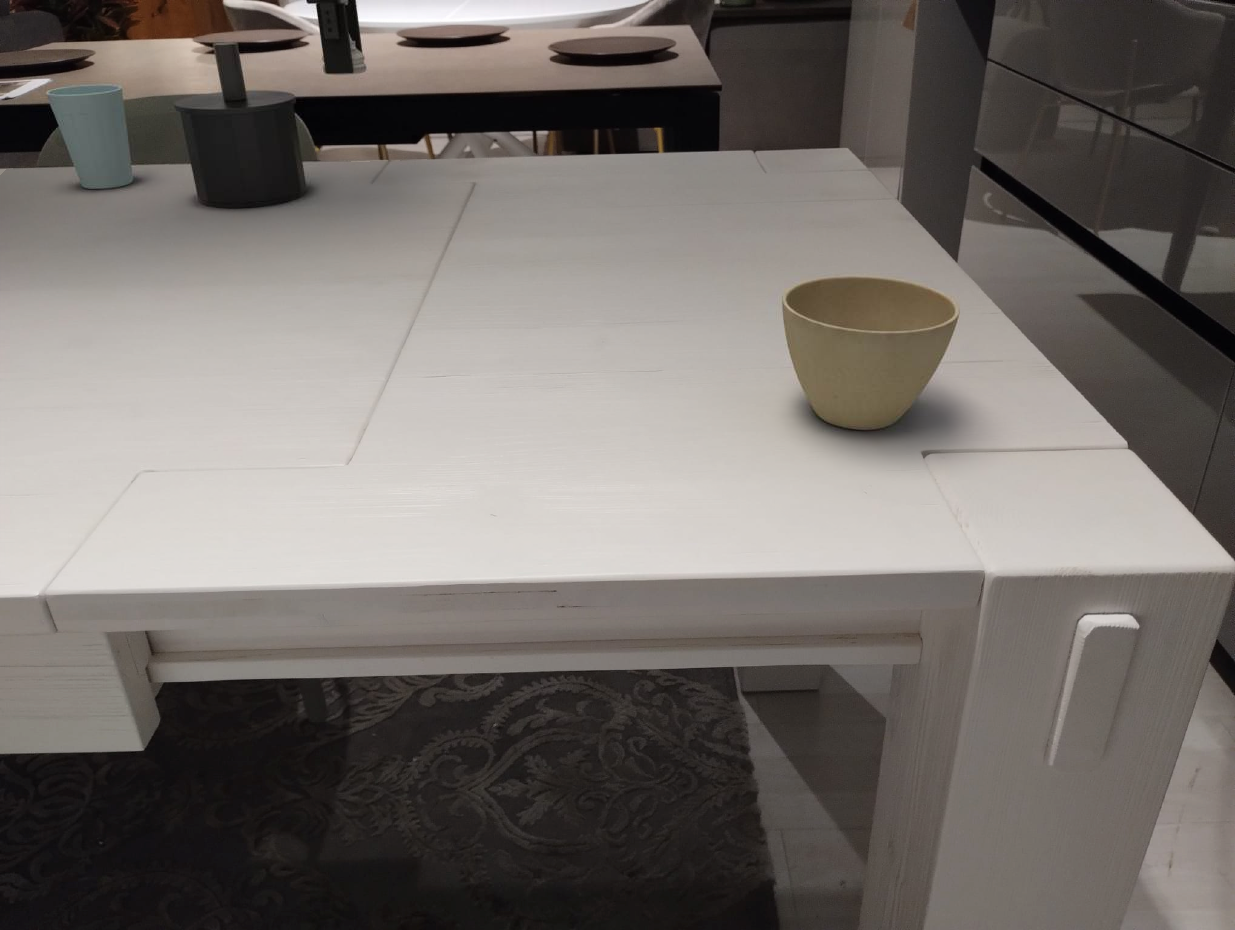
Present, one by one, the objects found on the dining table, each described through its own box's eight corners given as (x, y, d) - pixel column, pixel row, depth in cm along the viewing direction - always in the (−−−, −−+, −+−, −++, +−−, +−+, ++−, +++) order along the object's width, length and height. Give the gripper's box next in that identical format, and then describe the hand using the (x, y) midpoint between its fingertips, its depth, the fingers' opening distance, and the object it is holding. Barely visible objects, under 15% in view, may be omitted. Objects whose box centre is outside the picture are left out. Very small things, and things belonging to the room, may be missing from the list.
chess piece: (338, 68, 109) (324, -36, 104) (374, 69, 107) (361, -36, 102) (315, 74, 105) (299, -34, 100) (352, 75, 104) (338, -33, 99)
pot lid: (158, 122, 103) (142, 51, 99) (200, 102, 113) (187, 37, 110) (278, 120, 103) (266, 49, 99) (309, 100, 113) (299, 36, 110)
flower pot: (946, 458, 57) (966, 338, 53) (767, 441, 59) (775, 325, 55) (938, 385, 65) (954, 278, 62) (781, 373, 67) (788, 269, 64)
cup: (58, 185, 118) (33, 90, 113) (123, 173, 123) (101, 82, 118) (89, 195, 113) (64, 97, 108) (154, 182, 118) (133, 88, 113)
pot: (182, 209, 107) (162, 115, 103) (218, 183, 117) (201, 97, 113) (290, 207, 107) (274, 113, 103) (317, 182, 117) (304, 95, 113)
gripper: (327, -206, 87) (364, 81, 98) (368, -189, 102) (396, 58, 114) (240, -205, 87) (286, 82, 98) (294, -188, 102) (329, 59, 114)
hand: (345, 69), depth 106 cm, fingers closed on chess piece, 4 cm apart
